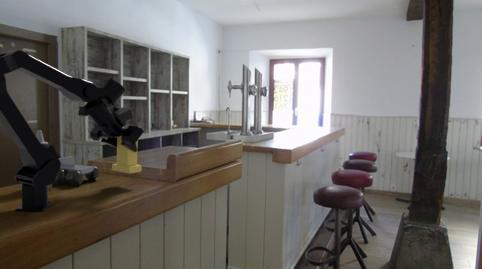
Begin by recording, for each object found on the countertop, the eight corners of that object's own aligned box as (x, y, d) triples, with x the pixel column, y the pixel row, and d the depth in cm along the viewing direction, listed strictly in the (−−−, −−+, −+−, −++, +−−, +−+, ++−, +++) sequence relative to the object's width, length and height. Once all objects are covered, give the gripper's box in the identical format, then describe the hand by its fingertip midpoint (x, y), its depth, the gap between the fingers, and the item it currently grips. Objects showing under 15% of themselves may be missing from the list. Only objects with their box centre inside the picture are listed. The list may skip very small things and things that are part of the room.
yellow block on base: (129, 173, 109) (130, 133, 108) (112, 170, 113) (112, 132, 112) (141, 171, 113) (142, 133, 112) (124, 168, 117) (125, 131, 116)
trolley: (80, 186, 111) (80, 161, 110) (51, 183, 113) (50, 159, 113) (99, 180, 120) (100, 157, 120) (72, 177, 123) (72, 155, 122)
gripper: (140, 99, 103) (164, 134, 114) (98, 97, 113) (124, 130, 123) (118, 125, 97) (146, 160, 108) (76, 122, 106) (105, 154, 117)
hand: (130, 150), depth 114 cm, fingers closed on yellow block on base, 5 cm apart
